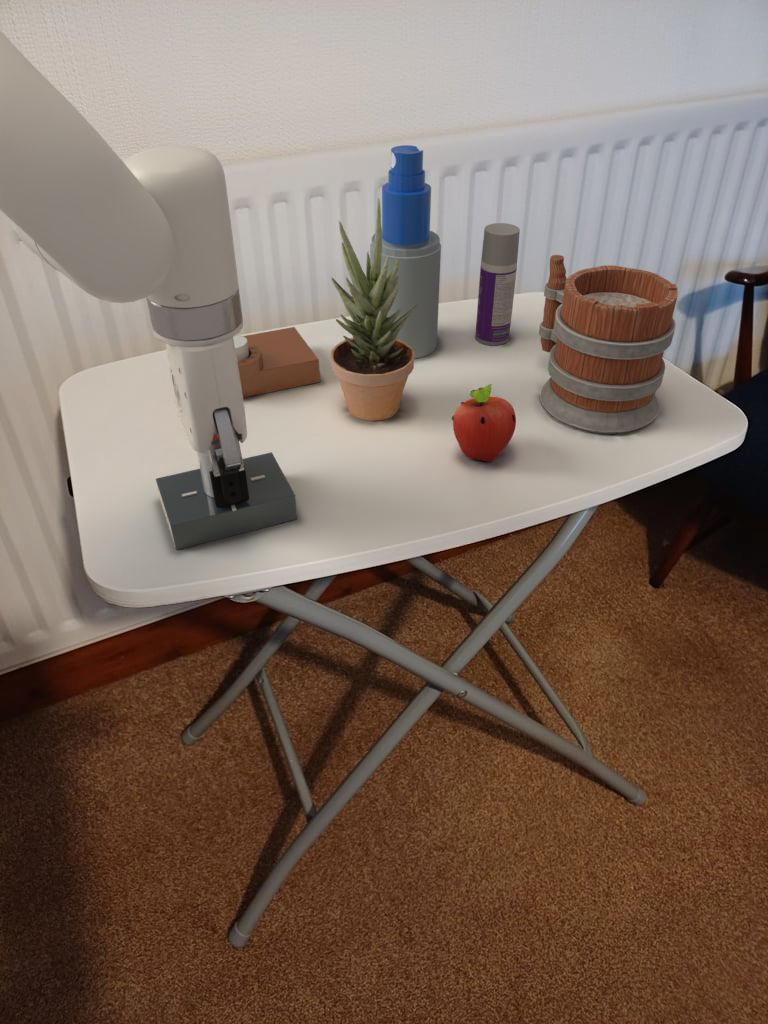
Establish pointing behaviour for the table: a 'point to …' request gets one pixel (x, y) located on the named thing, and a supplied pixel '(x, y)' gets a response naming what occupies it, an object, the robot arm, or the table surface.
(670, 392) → the table surface
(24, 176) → the robot arm
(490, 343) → the container
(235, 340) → the white cylindrical plug
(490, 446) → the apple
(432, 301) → the spray bottle
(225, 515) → the panel
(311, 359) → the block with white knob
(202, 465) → the tap knob
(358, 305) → the potted plant
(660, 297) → the mug
